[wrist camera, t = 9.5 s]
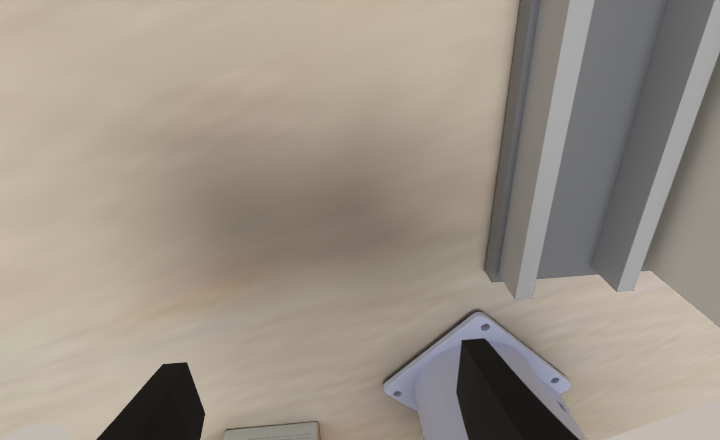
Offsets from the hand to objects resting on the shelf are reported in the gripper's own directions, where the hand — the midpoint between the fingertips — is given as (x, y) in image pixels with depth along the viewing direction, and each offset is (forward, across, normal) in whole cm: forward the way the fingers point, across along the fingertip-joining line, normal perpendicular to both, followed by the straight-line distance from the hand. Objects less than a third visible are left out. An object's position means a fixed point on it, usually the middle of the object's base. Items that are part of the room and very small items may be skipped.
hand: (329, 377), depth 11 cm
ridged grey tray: (+9, -13, -4) cm, 17 cm away
